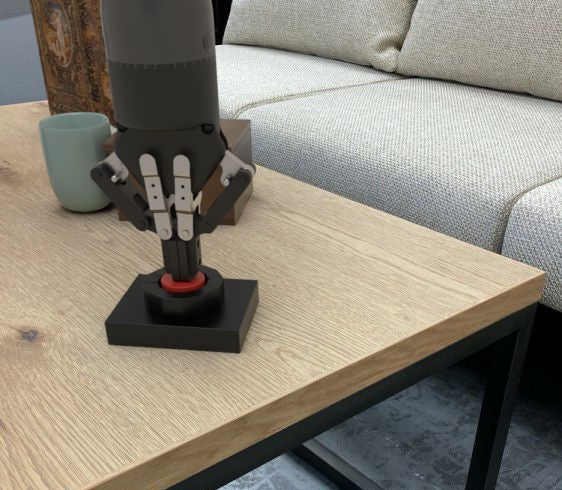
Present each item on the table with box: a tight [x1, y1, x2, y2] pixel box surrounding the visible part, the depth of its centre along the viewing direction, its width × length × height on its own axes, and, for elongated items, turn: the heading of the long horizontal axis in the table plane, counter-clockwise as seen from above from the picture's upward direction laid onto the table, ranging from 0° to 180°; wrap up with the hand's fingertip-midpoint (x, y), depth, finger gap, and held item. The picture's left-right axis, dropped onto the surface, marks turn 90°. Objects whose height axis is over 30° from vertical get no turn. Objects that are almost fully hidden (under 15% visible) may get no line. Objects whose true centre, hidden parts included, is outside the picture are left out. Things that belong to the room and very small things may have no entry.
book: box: [28, 0, 117, 128], centre depth 105 cm, size 16×6×25 cm, turn 42°
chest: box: [109, 126, 254, 226], centre depth 82 cm, size 14×12×8 cm
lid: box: [101, 118, 252, 153], centre depth 79 cm, size 14×12×1 cm
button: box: [161, 271, 205, 292], centre depth 58 cm, size 4×4×2 cm
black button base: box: [104, 264, 260, 354], centre depth 59 cm, size 11×9×4 cm
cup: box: [37, 112, 112, 213], centre depth 81 cm, size 8×8×10 cm
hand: (184, 277), depth 58 cm, fingers closed
